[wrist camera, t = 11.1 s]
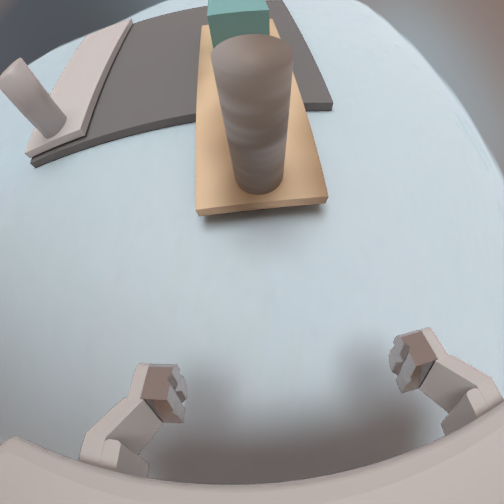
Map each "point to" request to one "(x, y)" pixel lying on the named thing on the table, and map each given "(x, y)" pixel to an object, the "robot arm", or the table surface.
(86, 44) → the pale board with post
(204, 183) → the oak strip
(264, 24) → the teal block
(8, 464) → the robot arm
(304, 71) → the lane mat
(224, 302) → the table surface
